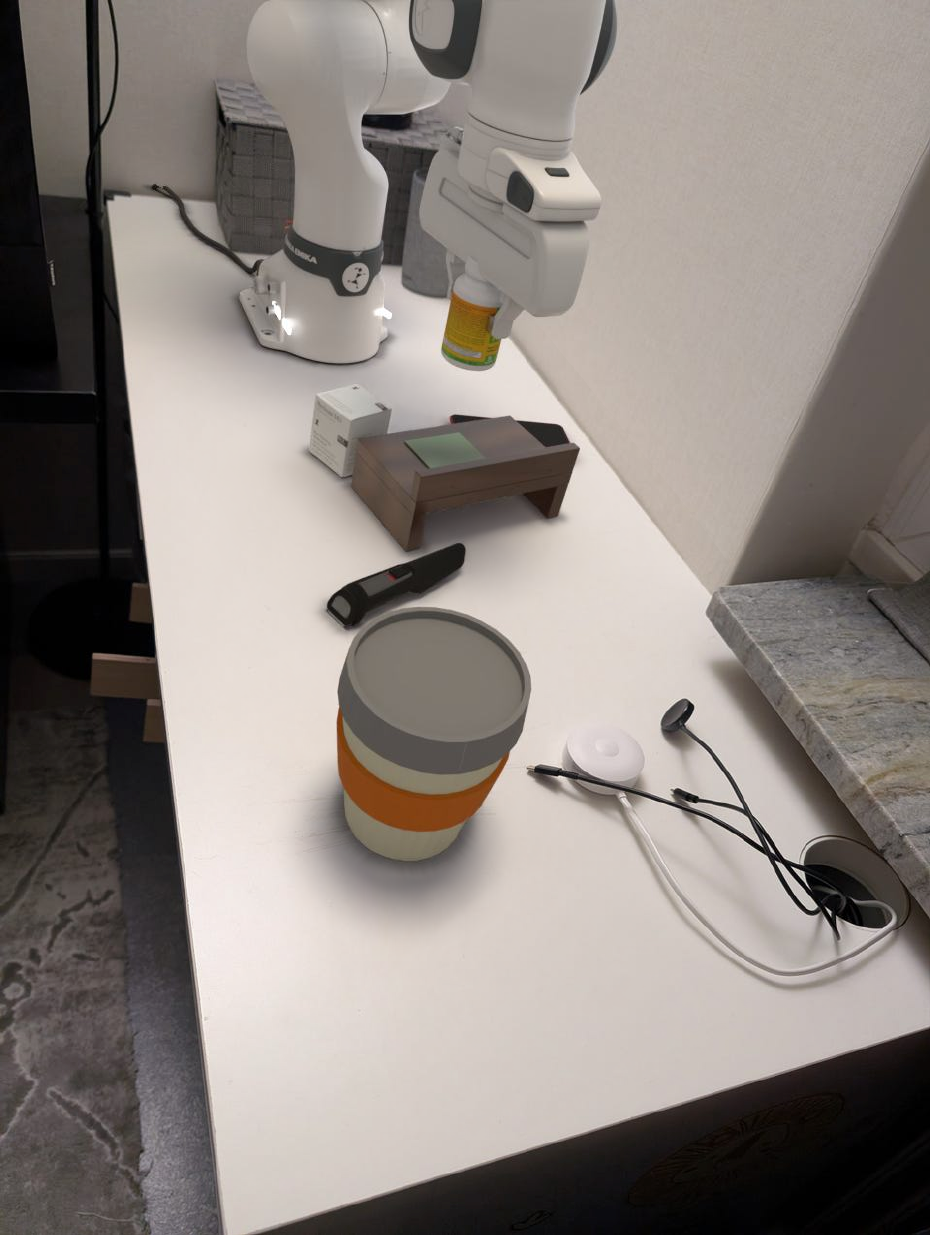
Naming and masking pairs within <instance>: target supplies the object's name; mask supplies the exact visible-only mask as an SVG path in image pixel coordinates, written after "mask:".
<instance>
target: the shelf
mask: <svg viewBox="0 0 930 1235" xmlns="http://www.w3.org/2000/svg"><path fill="white" fill-rule="evenodd" d="M489 418H490V419H483V420H476V421H470V422H463V423H456V424H451V423H450V424H444V425H437V426H429V427H424V428H417V429H411V430H404V431H397V432H391V433H387V434H383V435H376V436H370V437H363V438H358V440H357V447H356V454H355V461H354V468H353V474H352V475H351V483H350V487H351V488H352V489H353V491H355V493H356V494H357V495H358V496H359V497H360V499H361V500H362V501H363V502H364V503H365V505H366V506H367V507H368V508H369V509H370V510H371V512H372V513H373V514H374V515H375V517H376V518H377V519H378V520H379V521H380V523H381V524H382V525H383V526H384V528H386V529H387V531H388V532H389V533H390V534H391V536H392V537H393V538H394V539H395V540H396V542H397V543H398V544H399V545H400V546H401V547H402V549H403V550H404V551H405V552H407V553H408V552H411V551H415V550H419V549H420V548H421V543H422V540H423V533H424V529H425V525H426V519H427V514H431V513H432V514H433V513H436V512H442V511H447V510H451V509H456V508H461V507H466V506H470V505H476V504H480V503H484V502H489V501H494V500H499V499H503V498H508V497H512V496H513V497H514V496H518V495H522V496H523V497H524V498H525V499H526V500H527V501H528V502H529V503H530V504H531V505H532V506H533V507H534V508H535V509H536V510H537V511H539V513H540V514H542V515H543V517H544V518H546V519H547V520H549V519H552V518H557V517H558V516H559V514H560V511H561V508H562V505H563V502H564V499H565V496H566V492H567V490H568V486H569V484H570V481H571V478H572V475H573V471H574V469H575V466H576V464H577V461H578V460H577V459H578V456H579V454H580V450H581V447H579V446H578V444H576V443H575V442H570V443H568V444H563V445H557V446H551V447H545V446H543V445H542V444H541V443H540V442H539V441H538V440H537V439H536V438H535V437H533V436H532V435H531V434H530V433H529V432H528V431H527V430H526V429H525V428H524V427H522V426H521V425H520V424H519V423H518V422H517V421H516V420H517V419H515V418H514V417H512V416H511V415H504V416H497V417H489Z"/></svg>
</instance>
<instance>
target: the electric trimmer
mask: <svg viewBox="0 0 930 1235" xmlns="http://www.w3.org/2000/svg"><path fill="white" fill-rule="evenodd" d="M466 553H467V550H466V546H465V544H464V543H461V542H457V543H454V544H451V545H448V546H446V547H444V548H441V549H438V550H435V551H433V552H430V553H428V554H425V555H422V556H420V557H418V558H415V559H412V560H409V561H407V562H404V563H399V564H396V565H394V566H390V567H389V568H385V569H383V570H380V571H378V572H375V573H372V574H369V575H366V576H364V577H361V578H358V579H356V580H354V581H351V582H348V583H347V584H345V585H343V586H342V587H341V588H340V589H338V590H337V591H336V592H334V593H333V594H332V595H331V596H330V598H329V599H328V601H327V602H326V609H327V612H328V613H329V614H330V615H331V616H332V617H333V618H334V619H335V620H336V621H337V622H338V623H339V624H340V625H341V626H342V627H345V626H346V627H347V626H348V627H349V626H351V627H355V626H356V625H358V624H359V623H360V622H361V621H362V620H363V618H365V616H366V614H367V613H368V612H371V611H373V610H376V609H377V608H379V607H381V606H383V605H386V604H388V603H390V602H392V601H394V600H396V599H399V598H401V597H403V596H405V595H407V594H409V593H411V594H418V595H420V594H422V593H424V592H426V591H428V590H429V589H431V588H432V587H434V586H435V585H437V584H438V583H440V582H442V581H443V580H445V579H446V578H448V577H449V576H451V575H453V574H454V573H455V572H457V571H458V570H461V568H462V567H463V566H464V564H465V560H466Z"/></svg>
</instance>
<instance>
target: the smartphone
mask: <svg viewBox="0 0 930 1235" xmlns="http://www.w3.org/2000/svg"><path fill="white" fill-rule="evenodd" d="M490 418H491V417H488V416H487V417H486V416H478V415H477V416H476V415H467V414H457V413H455V414H452V415H450V416H449V422H450V424H456V423H463V422H470V421H476V420H483V419H490ZM515 420H516V421H517V422H518V423H519V424H520V425H521V426H522V427H524V428H525V429H526V430H527V431H528V432H529V433H530V434H531V435H532V436H533V437H535V438H536V439H537V440H538V441H539V442H540V443H541V444H542V445H543V446H545V447H551V446H557V445H563V444H568V443H571V441H570V439H569V437H568V435H567V433H566V431H565V429H564V427H563V426H562V425H561V424H558V423H551V422H542V421H541V422H540V421H532V420H531V421H530V420H519V419H518V420H517V419H515Z"/></svg>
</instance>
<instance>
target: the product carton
mask: <svg viewBox="0 0 930 1235" xmlns="http://www.w3.org/2000/svg"><path fill="white" fill-rule="evenodd" d="M392 411H393V409H392V408H391V407H390V406H389V405H387V404H386V403H385V402H383V401H382V400H381V399H379V398H378V397H377V396H376V395H375V394H373V393H372V392H370V391H368V390H366V388H364V387H362V386H361V385H360V384H358V383H355V384H354V383H353V384H351V385H346V386H343V387H339V388H335V389H331V390H327V391H322V392H318V393H316V394H315V398H314V407H313V415H312V422H311V431H310V438H309V446H308V451H309V453H311V454H312V455H313V456H314V457H316V458H317V459H318V460H320V461H321V462H322V463H323V464H325V465H326V466H327V467H328V468H330V469H331V470H332V471H333V472H334V473H335V474H337V475H338V476H339V477H340V478H346V477H349V476H352V475H353V468H354V461H355V454H356V447H357V440H358V438H363V437H370V436H376V435H383V434H388V432H389V427H390V421H391V416H392Z"/></svg>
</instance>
